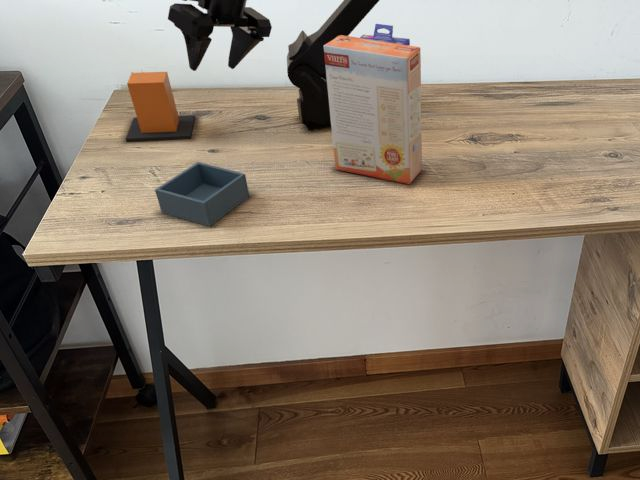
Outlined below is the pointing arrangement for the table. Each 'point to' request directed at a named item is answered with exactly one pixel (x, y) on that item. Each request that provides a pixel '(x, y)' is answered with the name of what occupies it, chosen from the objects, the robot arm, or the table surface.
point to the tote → (202, 193)
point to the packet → (153, 102)
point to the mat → (182, 132)
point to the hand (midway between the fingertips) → (212, 68)
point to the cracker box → (375, 107)
